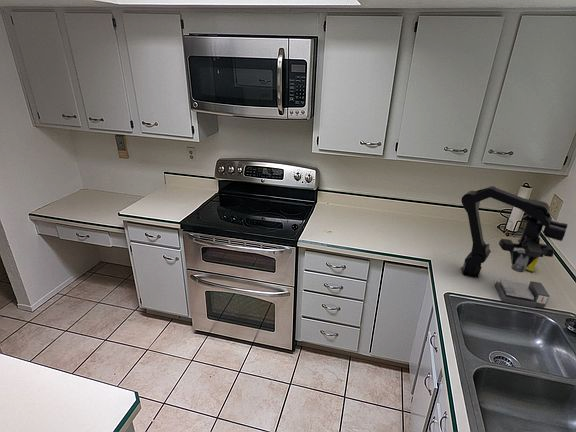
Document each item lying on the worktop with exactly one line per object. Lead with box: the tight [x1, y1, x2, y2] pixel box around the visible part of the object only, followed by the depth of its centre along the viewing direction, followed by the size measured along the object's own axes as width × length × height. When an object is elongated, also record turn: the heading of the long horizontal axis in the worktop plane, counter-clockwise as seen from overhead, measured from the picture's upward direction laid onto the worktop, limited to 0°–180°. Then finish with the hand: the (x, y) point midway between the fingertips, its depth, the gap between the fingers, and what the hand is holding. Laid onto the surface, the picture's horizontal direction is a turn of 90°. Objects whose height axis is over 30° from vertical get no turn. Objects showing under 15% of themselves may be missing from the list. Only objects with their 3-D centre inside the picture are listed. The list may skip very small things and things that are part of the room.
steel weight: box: [510, 249, 530, 273], centre depth 149 cm, size 5×5×8 cm
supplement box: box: [524, 257, 540, 273], centre depth 168 cm, size 6×6×11 cm
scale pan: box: [499, 279, 534, 300], centre depth 148 cm, size 10×10×1 cm
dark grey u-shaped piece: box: [494, 280, 550, 309], centre depth 148 cm, size 16×12×6 cm
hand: (519, 265), depth 149 cm, fingers closed on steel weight, 5 cm apart
